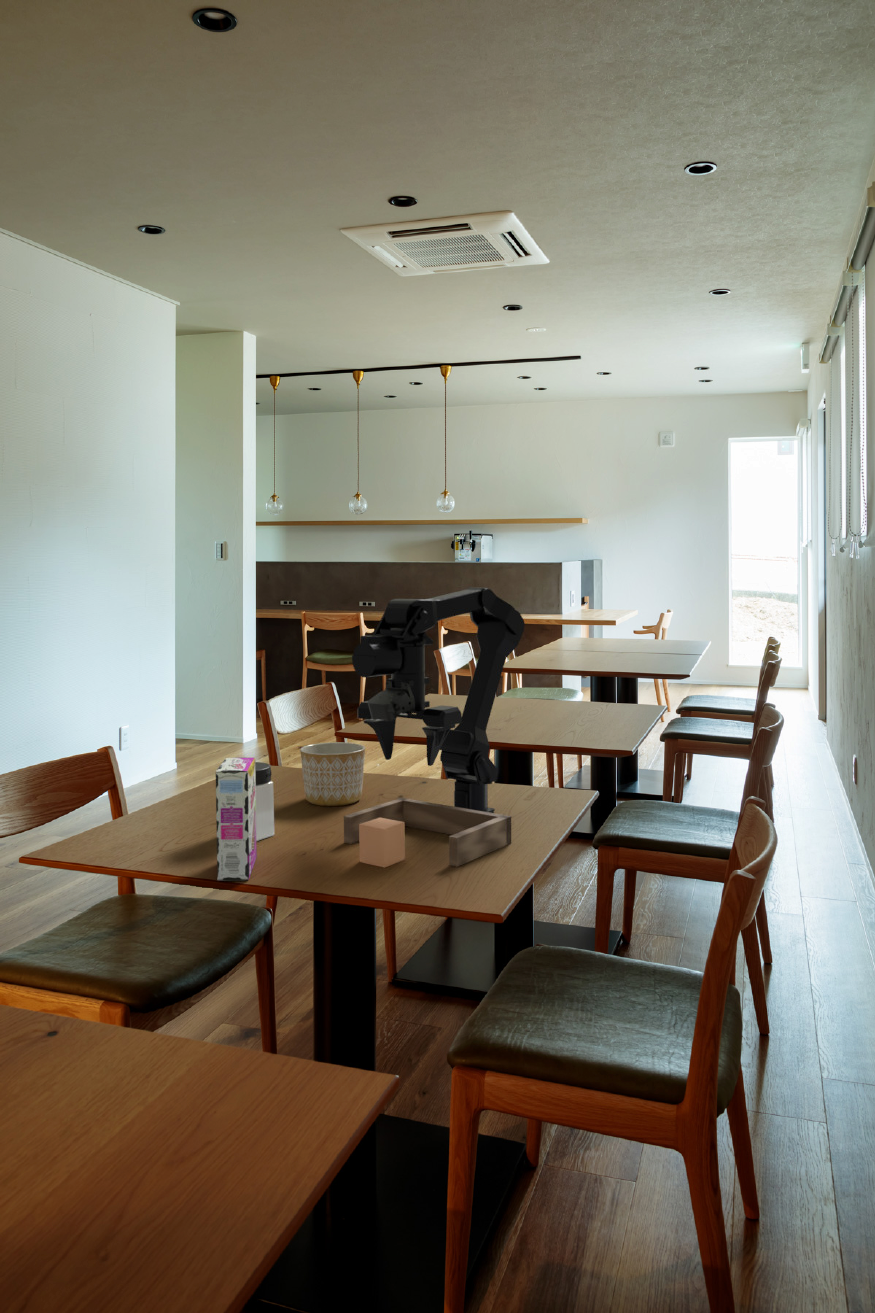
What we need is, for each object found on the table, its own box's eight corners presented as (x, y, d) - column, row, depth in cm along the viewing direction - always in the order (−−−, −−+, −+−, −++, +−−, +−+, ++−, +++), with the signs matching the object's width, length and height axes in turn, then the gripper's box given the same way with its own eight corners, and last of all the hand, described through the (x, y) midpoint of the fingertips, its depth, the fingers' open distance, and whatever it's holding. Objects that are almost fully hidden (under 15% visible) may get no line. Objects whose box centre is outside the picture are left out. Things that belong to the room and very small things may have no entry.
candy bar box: (251, 881, 141) (248, 770, 140) (216, 882, 141) (213, 771, 139) (259, 858, 152) (256, 755, 151) (226, 859, 152) (223, 756, 150)
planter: (377, 802, 188) (377, 749, 187) (319, 811, 181) (318, 756, 180) (346, 790, 199) (345, 740, 198) (290, 798, 192) (289, 746, 191)
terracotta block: (380, 854, 154) (379, 817, 153) (404, 859, 151) (404, 822, 150) (359, 862, 150) (359, 824, 149) (384, 867, 147) (384, 829, 146)
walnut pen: (402, 822, 173) (401, 797, 172) (511, 843, 159) (511, 816, 159) (344, 842, 160) (343, 816, 160) (457, 866, 147) (457, 838, 146)
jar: (279, 838, 163) (277, 768, 162) (231, 845, 160) (229, 773, 158) (264, 826, 171) (263, 759, 170) (219, 832, 168) (216, 764, 166)
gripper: (335, 673, 164) (337, 764, 165) (423, 680, 153) (424, 777, 154) (377, 667, 173) (378, 753, 174) (463, 673, 162) (463, 765, 163)
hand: (409, 762), depth 166 cm, fingers open, 9 cm apart
